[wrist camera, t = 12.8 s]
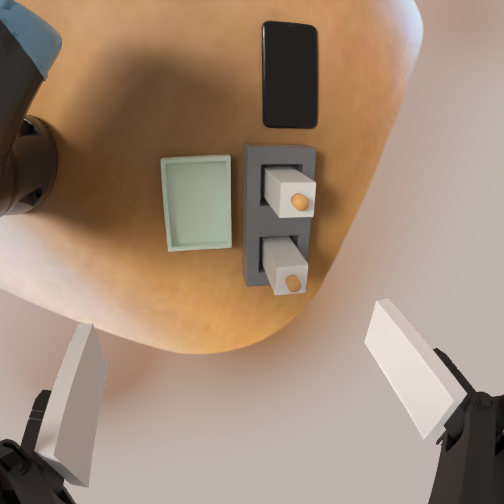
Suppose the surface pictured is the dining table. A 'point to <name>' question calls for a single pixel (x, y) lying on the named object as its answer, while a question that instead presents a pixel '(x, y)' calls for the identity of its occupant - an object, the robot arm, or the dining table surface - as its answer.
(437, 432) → the robot arm
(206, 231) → the tray
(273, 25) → the smartphone
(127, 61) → the dining table surface
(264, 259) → the plug
